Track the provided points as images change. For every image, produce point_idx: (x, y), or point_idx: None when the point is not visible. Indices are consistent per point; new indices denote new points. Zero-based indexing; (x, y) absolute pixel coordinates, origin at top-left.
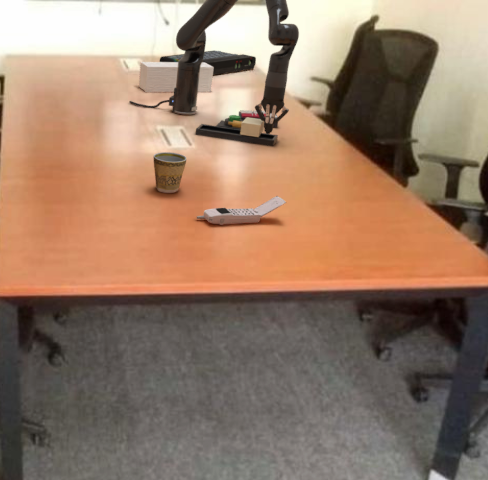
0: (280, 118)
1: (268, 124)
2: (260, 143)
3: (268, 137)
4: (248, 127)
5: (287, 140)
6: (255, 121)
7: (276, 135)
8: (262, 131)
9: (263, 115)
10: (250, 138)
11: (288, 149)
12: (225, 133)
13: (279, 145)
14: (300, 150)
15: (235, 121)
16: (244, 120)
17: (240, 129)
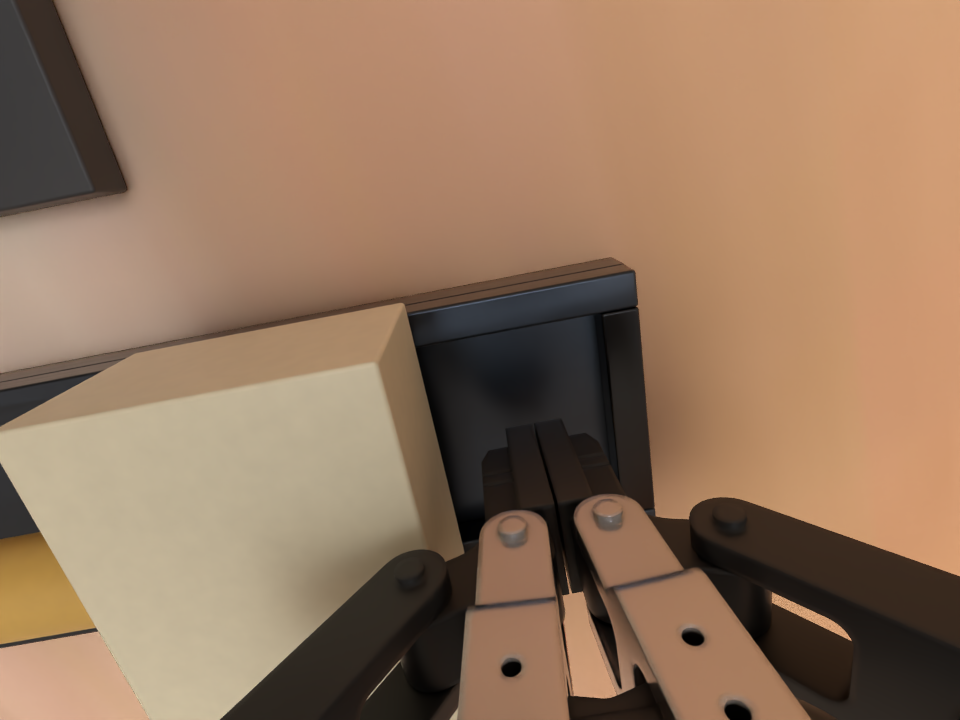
0: (850, 676)
1: (561, 586)
2: None
3: (515, 329)
4: None
5: (727, 105)
6: (306, 602)
7: (620, 296)
8: (414, 352)
9: (403, 645)
10: None
11: (801, 477)
12: (89, 632)
13: (684, 406)
14: (927, 427)
15: (5, 641)
16: (134, 669)
17: (14, 209)
